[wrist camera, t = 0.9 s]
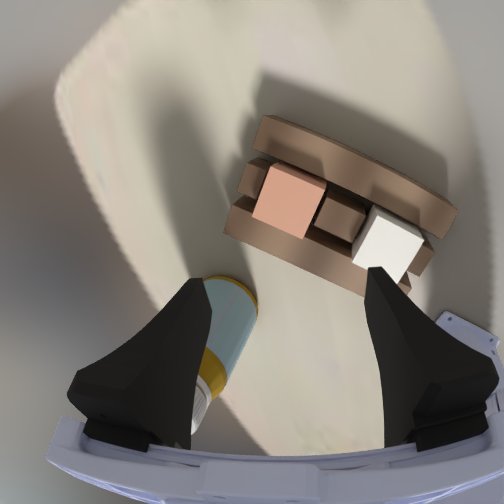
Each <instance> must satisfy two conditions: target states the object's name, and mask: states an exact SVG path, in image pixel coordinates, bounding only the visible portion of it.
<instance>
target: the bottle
mask: <svg viewBox="0 0 504 504" xmlns="http://www.w3.org/2000/svg"><path fill="white" fill-rule="evenodd" d="M203 283H204V286H205V289H206V292H207V295H208V298H209V302H210V305H211V308H212V319H211V326H210V332H209V336H208V340H207V343H206V347H205V351H204V354H203V358H202V361H201V365H200V369H199V373H198V377H197V383H196V390H195V397H194V406H193V415H192V428H191V435H192V434H193V433H194V432H195V431H196V430H197V428H198V426H199V425H200V422H201V420H202V419H203V417H204V415H205V413H206V410H207V408H208V406H209V404H210V402H211V400H213V399H214V398H215V397H216V396H218V395H219V394H220V393H221V392H222V390H223V389H224V387H225V385H226V383H227V381H228V379H229V377H230V375H231V373H232V371H233V369H234V367H235V365H236V363H237V360H238V358H239V356H240V354H241V352H242V350H243V348H244V346H245V344H246V341H247V339H248V337H249V335H250V333H251V331H252V329H253V326H254V324H255V322H256V319H257V315H258V307H257V302H256V300H255V298H254V296H253V295H252V293H251V292H250V291H249V290H248V289H247V288H246V287H245V286H244V285H242V284H241V283H239V282H238V281H236V280H234V279H231V278H228V277H223V276H214V277H210V278H207V279H205V280H204V281H203Z"/></svg>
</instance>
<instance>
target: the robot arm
mask: <svg viewBox="0 0 504 504" xmlns="http://www.w3.org/2000/svg"><path fill="white" fill-rule="evenodd" d="M364 305H365V311H366V318H367V324H368V327H369V331H370V335H371V338H372V342H373V346H374V350H375V354H376V358H377V361H378V366H379V371H380V378H381V387H382V397H383V410H384V448H382V449H375V450H368V451H360V452H351V453H341V454H329V455H312V456H247V455H231V454H218V453H208V452H199V451H191V428H192V415H193V406H194V397H195V390H196V383H197V377H198V373H199V369H200V365H201V361H202V358H203V354H204V351H205V347H206V343H207V340H208V336H209V332H210V326H211V319H212V308H211V305H210V302H209V298H208V295H207V292H206V289H205V286H204V283H203V280H202V278H191V279H188V280H187V282H186V283H185V284H184V285H183V286H182V287H181V288H180V290H179V291H178V292H177V293H176V294H175V295H174V296H173V298H172V299H171V300H170V301H169V302H168V303H167V304H166V305H165V307H164V308H163V309H162V310H161V311H160V312H159V313H158V314H157V315H156V316H155V317H154V318H153V319H152V320H151V321H150V322H149V323H148V324H147V325H146V326H145V327H144V328H143V329H142V330H141V331H139V332H138V333H137V334H136V335H135V336H133V337H132V338H131V339H130V340H128V341H127V342H126V343H124V344H123V345H122V346H120V347H119V348H117V349H116V350H115V351H113V352H112V353H110V354H108V355H107V356H105V357H104V358H102V359H100V360H98V361H97V362H95V363H93V364H91V365H89V366H87V367H85V368H83V369H81V370H78V371H77V373H76V375H75V377H74V379H73V381H72V383H71V385H70V387H69V390H68V392H67V397H68V399H69V401H70V402H71V403H72V404H73V405H74V406H75V407H76V408H77V409H78V410H79V411H81V413H82V414H84V415H85V416H86V417H87V418H88V419H87V422H86V424H85V423H84V422H82V421H79V420H76V419H73V418H70V417H67V416H61V419H60V421H59V424H58V426H57V429H56V431H55V433H54V436H53V438H52V441H51V443H50V446H49V449H48V451H47V454H46V457H45V459H46V460H47V461H49V462H51V463H52V464H54V465H56V466H57V467H59V468H60V469H62V470H64V471H66V472H67V473H69V474H71V475H73V476H75V477H76V478H79V479H81V480H84V481H86V482H88V483H91V484H94V485H96V486H99V487H101V488H104V489H107V490H110V491H112V492H115V493H118V494H121V495H124V496H127V497H130V498H133V499H136V500H139V501H143V502H146V503H150V504H504V368H503V365H502V363H501V360H500V358H499V355H498V353H497V350H496V347H497V345H498V344H499V343H500V339H499V338H498V337H496V336H494V335H493V334H491V333H489V332H487V331H485V330H483V329H481V328H479V327H477V326H476V325H474V324H472V323H470V322H468V321H466V320H464V319H462V318H460V317H458V316H456V315H454V314H452V313H450V312H448V311H445V312H443V313H442V315H441V316H440V317H439V318H438V320H437V321H436V322H434V321H432V320H431V319H430V318H429V317H428V316H427V315H425V314H424V313H423V312H422V311H421V310H420V309H419V308H418V307H417V306H416V305H415V304H414V303H413V302H412V301H411V299H410V298H409V297H408V296H407V295H406V294H405V293H404V292H403V291H402V290H401V288H400V287H399V286H398V285H397V284H396V283H395V281H394V280H393V279H392V278H391V277H390V275H389V274H388V273H387V272H386V271H385V269H384V268H383V267H382V266H379V267H368V272H367V282H366V291H365V299H364ZM449 317H451V318H450V319H448V318H449ZM490 339H491V340H490Z"/></svg>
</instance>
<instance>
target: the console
mask: <svg viewBox="0 0 504 504" xmlns="http://www.w3.org/2000/svg"><path fill="white" fill-rule="evenodd" d="M252 148H253V149H255V150H258V151H260V152H263V153H266V154H268V155H271V156H273V157H275V158H278V159H280V160H283V161H285V162H288V163H290V164H292V165H295V166H297V167H299V168H302V169H304V170H306V171H309V172H311V173H313V174H315V175H318V176H320V177H322V178H324V179H326V180H329V181H331V182H333V183H335V184H337V185H339V186H341V187H344V188H346V189H348V190H350V191H352V192H354V193H356V194H358V195H360V196H362V197H364V198H366V199H368V200H370V201H372V202H374V203H376V204H378V205H380V206H382V207H384V208H386V209H388V210H390V211H392V212H394V213H396V214H397V215H399V216H401V217H403V218H405V219H407V220H409V221H410V222H412V223H414V224H416V225H418V226H420V227H421V228H423V229H425V230H427V231H428V232H430V233H432V234H434V235H435V236H437V237H439V238H441V239H442V240H443V238H444V236H445V235H446V233H447V231H448V229H449V228H450V226H451V224H452V222H453V220H454V219H455V217H456V215H457V213H458V210H457V209H456V208H455V207H454V206H453V205H452V204H451V203H450V202H449V201H448V200H446V199H445V198H443V197H442V196H440V195H438V194H437V193H435V192H433V191H432V190H430V189H428V188H427V187H425V186H423V185H421V184H420V183H418V182H416V181H414V180H412V179H411V178H409V177H407V176H405V175H403V174H402V173H400V172H398V171H396V170H394V169H392V168H390V167H388V166H387V165H385V164H383V163H381V162H379V161H377V160H375V159H373V158H371V157H369V156H367V155H365V154H363V153H360V152H358V151H356V150H354V149H352V148H350V147H348V146H346V145H343V144H341V143H339V142H337V141H335V140H332V139H330V138H328V137H325V136H323V135H321V134H318V133H316V132H314V131H311V130H309V129H306V128H304V127H302V126H299V125H297V124H294V123H291V122H289V121H286V120H284V119H281V118H278V117H276V116H273V115H269V116H263V118H262V121H261V124H260V127H259V130H258V132H257V135H256V138H255V141H254V144H253V146H252ZM272 165H273V163H270V162H268V161H265V160H263V159H261V158H258V157H257V158H255V159H253V160H251V161H249V162H247V164H246V166H245V169H244V172H243V175H242V178H241V181H240V184H239V187H238V190H237V191H238V192H240V193H242V194H245V195H247V196H249V197H247V196H245V195H244V196H243V197H241V198H240V199H239V200H238V201H236V202H235V203H234V204H233V205H232V208H231V211H230V214H229V217H228V220H227V223H226V226H225V229H224V232H223V233H225V234H227V235H229V236H232V237H234V238H236V239H238V240H240V241H243V242H245V243H247V244H249V245H251V246H254V247H256V248H258V249H260V250H262V251H265V252H267V253H269V254H271V255H273V256H276V257H278V258H280V259H282V260H284V261H286V262H289V263H291V264H293V265H295V266H297V267H300V268H302V269H304V270H306V271H308V272H310V273H313V274H315V275H317V276H319V277H321V278H323V279H326V280H328V281H330V282H332V283H334V284H337V285H339V286H341V287H343V288H345V289H347V290H350V291H352V292H354V293H356V294H358V295H360V296H363V297H365V291H366V282H367V272H368V270H366V269H364V268H362V267H360V266H358V265H356V264H354V263H352V244H351V243H352V242H353V240H354V238H355V236H356V234H357V232H358V230H359V229H360V227H361V225H362V223H363V221H364V219H365V217H366V213H365V208H364V204H362V203H360V202H357V201H355V200H353V199H351V198H349V197H347V196H345V195H343V194H341V193H339V192H337V191H334V190H332V189H330V188H329V189H328V191H327V194H326V196H325V198H324V200H323V202H322V205H321V207H320V209H319V211H318V213H317V217H316V220H315V224H314V225H315V226H317V227H319V228H321V229H323V230H321V229H319V228H317V227H315V226H313V225H311V224H309V226H308V228H307V231H306V233H305V235H304V237H303V239H300V238H298V237H296V236H294V235H291V234H289V233H287V232H285V231H283V230H280V229H278V228H276V227H274V226H272V225H269V224H267V223H265V222H263V221H260V220H258V219H256V218H254V217H252V215H253V212H254V209H255V207H256V204H257V200H254V199H257V198H258V197H259V196H260V193H261V190H262V188H263V185H264V182H265V180H266V177H267V174H268V172H269V169H270V166H272ZM250 197H252V198H254V199H252V198H250ZM324 230H325V231H324ZM326 231H328V232H330V233H332V234H334V235H336V236H338V237H340V238H338V237H336V236H334V235H332V234H330V233H328V232H326ZM422 237H423V239H424V242H423V243H422V245H421V247H420V248H419V250H418V252H417V253H416V255H415V257H414V258H413V260H412V262H411V263H410V265H409V266H408V268H407V271H409V272H411V273H413V274H415V275H417V276H419V277H420V275H421V274H422V272H423V271H424V269H425V267H426V266H427V264H428V263H429V261H430V260H431V258H432V256H433V255H434V253H435V252H434V250H433V248H432V246H431V244H430V243H429V241H428V239H427V238H426V237H424V236H423V235H422ZM341 238H342V239H341ZM343 239H344V240H343ZM345 240H347V241H349V242H351V243H349V242H347V241H345ZM407 271H405V273H404V274H403V276H402V277H401V279H400V280H399V282H398V283H397V285H398V286H399V287H400V288H401V290H402V291H403V292H404V293H405V294H406V295H407V294H408V293H409V292H410V290H411V289H412V288H411V284H410V281H409V278H408V274H407Z"/></svg>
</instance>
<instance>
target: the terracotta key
mask: <svg viewBox="0 0 504 504" xmlns="http://www.w3.org/2000/svg"><path fill="white" fill-rule="evenodd" d="M326 184H327V181H326V180H324V179H322V178H319V177H317V176H315V175H313V174H311V173H308V172H306V171H304V170H301V169H299V168H297V167H294V166H292V165H290V164H287V163H285V162H282V161H280V160H279V161H278V162H276V163H275V164H273V165H272V166H270V169H269V172H268V174H267V177H266V180H265V182H264V185H263V188H262V190H261V193H260V196H259V198H258V201H257V204H256V207H255V209H254V212H253V215H252V217H254V218H256V219H258V220H260V221H263V222H265V223H267V224H269V225H272V226H274V227H276V228H278V229H280V230H283V231H285V232H287V233H289V234H291V235H294V236H296V237H298V238H300V239H303V237H304V235H305V233H306V231H307V228H308V226H309V224H310V222H311V220H312V218H313V215H314V213H315V211H316V209H317V207H318V204H319V202H320V200H321V198H322V195H323V193H324V191H325V188H326Z"/></svg>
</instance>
